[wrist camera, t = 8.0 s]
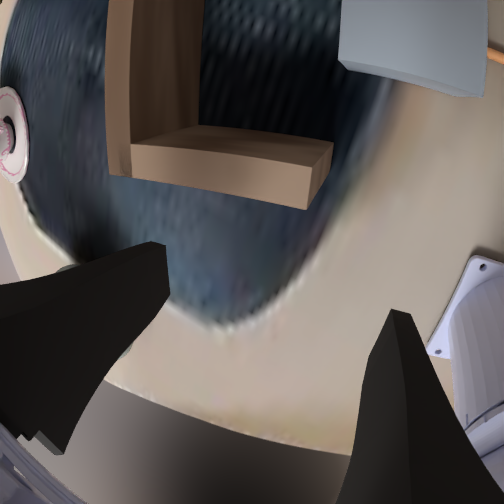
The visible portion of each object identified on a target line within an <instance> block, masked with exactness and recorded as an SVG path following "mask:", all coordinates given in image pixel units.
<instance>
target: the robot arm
mask: <svg viewBox="0 0 504 504" xmlns="http://www.w3.org/2000/svg"><path fill="white" fill-rule="evenodd" d="M481 264H485V266H484V267H483V268H480V265H481ZM169 295H170V287H169V277H168V267H167V255H166V245H162V244H159V243H156V242H152V241H150V242H146V243H142V244H139V245H135V246H132V247H129V248H126V249H124V250H121V251H118V252H115V253H112V254H110V255H107V256H104V257H101V258H99V259H96V260H93V261H90V262H87V263H84V264H81V265H79V266H76V267H73V268H70V269H67V270H64V271H61V272H57V273H54V274H50V275H47V276H43V277H39V278H35V279H30V280H25V281H20V282H15V283H9V284H3V285H0V504H52V503H53V504H88V503H87V502H85V501H84V500H83V499H82V498H80V497H79V496H78V495H76V494H75V493H74V492H73V491H71V490H70V489H69V488H68V487H66V486H65V485H64V484H63V483H61V482H60V481H59V480H58V479H57V478H56V477H55V476H53V475H52V474H51V473H50V472H49V471H48V470H47V469H46V468H45V467H43V466H42V465H41V464H40V463H39V462H38V461H37V460H36V459H35V458H34V457H33V456H32V455H31V454H30V453H29V452H28V451H27V450H26V449H25V448H24V447H23V446H22V445H21V444H20V443H19V442H18V441H17V440H16V439H17V438H18V437H19V436H20V435H21V434H22V435H23V436H24V437H25V438H26V439H27V440H28V441H30V440H31V439H32V438H33V437H35V438H37V439H38V440H39V441H40V442H41V443H42V444H43V445H44V446H45V447H46V448H47V449H48V450H49V451H51V452H52V453H53V454H54V455H63V454H64V452H65V450H66V447H67V445H68V442H69V440H70V438H71V436H72V433H73V431H74V429H75V427H76V424H77V423H78V421H79V419H80V417H81V415H82V413H83V411H84V409H85V407H86V406H87V404H88V402H89V401H90V399H91V397H92V396H93V394H94V392H95V391H96V389H97V388H98V386H99V384H100V383H101V382H102V380H103V379H104V377H105V376H106V374H107V373H108V371H109V370H110V368H111V367H112V366H113V365H114V363H115V362H116V361H117V360H118V359H119V357H120V356H121V355H122V354H123V353H124V352H125V351H126V349H127V348H128V347H129V346H130V345H131V344H132V343H133V342H134V340H135V339H136V338H137V337H138V336H139V335H140V334H141V333H142V332H143V330H144V329H145V328H146V327H147V326H148V325H149V324H150V322H151V321H152V320H153V319H154V318H155V317H156V315H157V314H158V312H159V311H160V309H161V308H162V306H163V305H164V303H165V302H166V300H167V299H168V297H169ZM438 349H440V350H438ZM428 355H432V356H437V357H442V358H446V359H451V367H452V378H453V391H454V409H455V412H454V410H453V409H452V407H451V405H450V402H449V400H448V398H447V396H446V394H445V392H444V390H443V388H442V386H441V383H440V381H439V379H438V377H437V375H436V372H435V370H434V368H433V365H432V363H431V361H430V358H429V356H428ZM14 466H15V467H16V468H17V469H18V470H19V471H20V472H21V473H22V474H23V475H24V476H25V477H26V478H24V477H23V476H22V475H20V474H19V473H18V472H16V471H15V470H14ZM336 504H504V263H501V262H498V261H495V260H492V259H489V258H486V257H482V256H479V255H474V256H472V257H471V258H470V259H469V261H468V263H467V265H466V268H465V270H464V272H463V275H462V277H461V279H460V281H459V284H458V286H457V288H456V290H455V292H454V294H453V296H452V298H451V300H450V302H449V304H448V306H447V308H446V310H445V312H444V314H443V316H442V318H441V320H440V322H439V324H438V326H437V327H436V329H435V331H434V333H433V335H432V336H431V338H430V340H429V342H428V343H427V345H426V349H425V346H424V344H423V342H422V339H421V337H420V335H419V332H418V330H417V327H416V325H415V323H414V321H413V318H412V316H411V314H409V313H406V312H402V311H398V310H394V309H391V310H390V312H389V315H388V317H387V319H386V321H385V324H384V326H383V328H382V330H381V332H380V334H379V336H378V339H377V341H376V343H375V345H374V347H373V349H372V351H371V353H370V355H369V357H368V362H367V367H366V371H365V375H364V380H363V384H362V391H361V399H360V406H359V414H358V421H357V427H356V434H355V440H354V446H353V451H352V455H351V459H350V464H349V467H348V470H347V473H346V476H345V479H344V482H343V485H342V488H341V491H340V493H339V496H338V499H337V501H336Z"/></svg>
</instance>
